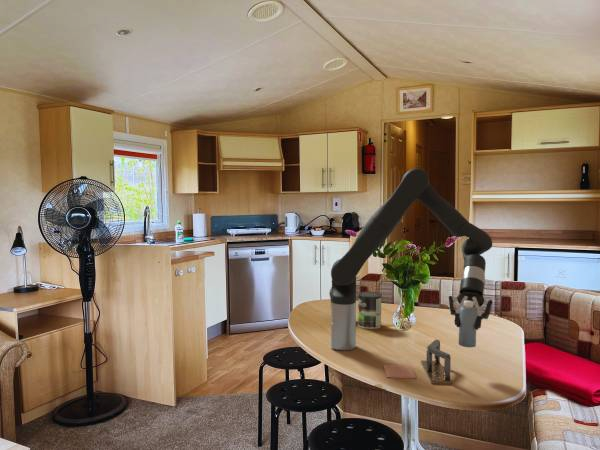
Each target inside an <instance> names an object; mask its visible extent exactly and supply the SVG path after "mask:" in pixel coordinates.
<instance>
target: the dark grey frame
mask: <svg viewBox="0 0 600 450" xmlns="http://www.w3.org/2000/svg"><path fill="white" fill-rule="evenodd" d="M433 355H434V357H433ZM433 359H434V360H433ZM441 359H444V362H443V363H444V364H443V365H444V366H443V365H442V363H441ZM451 361H452V360H451V354H450V353H447V352H445V351H443V350H441V340H440V339H435V340H433V341H432V342H431V343H430V344H428V345H427V347H426V360H420V365H421V366H422V369H423V371H424V372H425V374H426V376H427V378H428V380H429V382H430V384H431V385H452V384H453V382H452V380H451V369H452V367H451V364H452V363H451Z"/></svg>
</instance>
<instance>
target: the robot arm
mask: <svg viewBox="0 0 600 450" xmlns="http://www.w3.org/2000/svg"><path fill="white" fill-rule="evenodd" d="M416 200H419V202H421V203H422V204H423V205H424V206H425V207H426V208H427V209H428V210H429V211H430V212H431V213H432V214H433V215H434V216H435V217H436V218H437V219H438V221H439V222H440V223H441V224H442V225H443V226H444V227H445V228H446V229H447V230H448V231H449V233H451V234H452V235H453V236H454V238H462V237H467V238H466V239H465V240H464V241H463V243H462V247H461V252H462V257H463V268H462V273H461V278H460V284H459V291H458V294H457V296H452V295H449V296H448V304H449V305H448V306H449V310H450V311H449V313H450V315H451V316H454V325H455V326H456V328H459V318H460V306H464V301H466V300H468V301H473V302H474V307H476V308H477V318H476V331H478V330H479V329H481V328H482V320H488V319H489V317H490V314H491V312H492V309H493V306H494V305H493V304H494V303H493V300H492V299H489V300H487V299H485V298H484V294H485V293H484V292H485V285H486V267H487V266H486V264H487V263H486V259H485V257H484V256H482V254H484V253H486V252H487V251H489V250H491V248H492V247H493V239H492V237H491V236H490V235H489V234H488V233H487V232H486V231H484V230H483V229H481V228H479V227H478V226H476V225H475V224H473V223H471V222H470V221H469V220H468V219H467V218H465V216H463V214H462V213H461V212H460V211H459V210H457V208H455V207H454V206H453V205H452V204H451V203H449V202H448V201H447V200H446V199H444V197H442V196H441V195H440V194H439V193H438V192H437V191H436V190H435V189H434V187H433V186H432V184H431V183H430V176H429V174H428V173H427V172H426V170H424V169H423V168H417V167H416V168H411V169H409V170H408V171H406V172H405V173H404V175H403V176H402V179H401V181H400V182H399V184H398V185H397V187H396V189H395V190H394V191H393V193H392V195H390V197H388V199H387V200H386V201H385V202H383V204H382V205H381V206H379V207H378V208H377V210H376V211H375V212H374V213H373V214H372V216H371V217H369V219H368V220H367V222H366V223H365V224H364V226H363V227H362V229H361V230H360V231H359V233H358V235H357V237H356V239H355V241H354V242H353V244H352V246H351V247H350V248H349V249H348V251H347V252H346V253H345V254H344V255H343V256H342V257H341V258H339V259H337V260H336V261H335V262H334V263H333V264H332V265H331V266H332V267H331V269H330V276H331V287H332V293H331V299H330V307H331V308H330V309H331V310H330V311H331V313H330V314H331V319H330V322H331V324H330V329H331V331H330V332H331V334H330V337H331V339H330V341H331V343H330V348H331V350H332V349H333V350H338V351H351V350H354V349H356V346H357V345H356V344H357V340H356V339H357V338H356V337H357V335H356V334H357V328H356V327H357V275H358V274H359V273H360V270H362V268H363V266H364V265H365V263H366V262H367V261H368V259H369V258H370V257H371V256H372V255H373V254H374V253H376V251H377V250H378V249H379V248H380V247H381V246H382V244H384V243H385V241H386V240H387V238H389V236H390V235H391V234H392V232H393V231H394V229H395V228H396V227H397V226H398V224H399V222H400V221H401V220H402V218H403V216H404V215H405V213H406V211H407V210H408V209H409V207H411V205H412V204H413V203H414V202H415V201H416ZM456 302H457V303H458V307H457V309H455V308H454V306H455V304H456ZM483 305H484V307H485V309H484V311H483V312H482V311H481V308H480V307H481V306H483Z"/></svg>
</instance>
